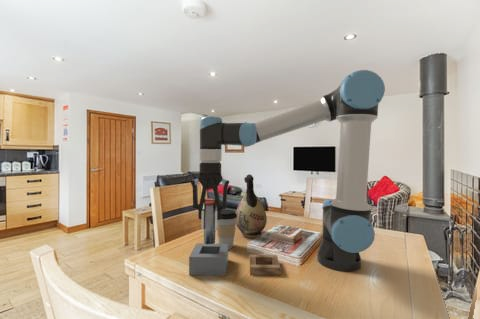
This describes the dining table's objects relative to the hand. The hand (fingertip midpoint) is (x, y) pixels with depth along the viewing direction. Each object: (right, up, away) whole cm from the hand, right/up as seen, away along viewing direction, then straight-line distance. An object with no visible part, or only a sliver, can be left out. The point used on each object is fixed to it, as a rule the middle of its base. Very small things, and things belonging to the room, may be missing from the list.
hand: (209, 228), depth 86 cm
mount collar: (+19, -14, 0) cm, 24 cm away
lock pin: (0, -5, 0) cm, 5 cm away
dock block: (0, -14, 0) cm, 14 cm away
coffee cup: (+5, -13, +19) cm, 24 cm away
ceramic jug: (+16, -13, +34) cm, 40 cm away
